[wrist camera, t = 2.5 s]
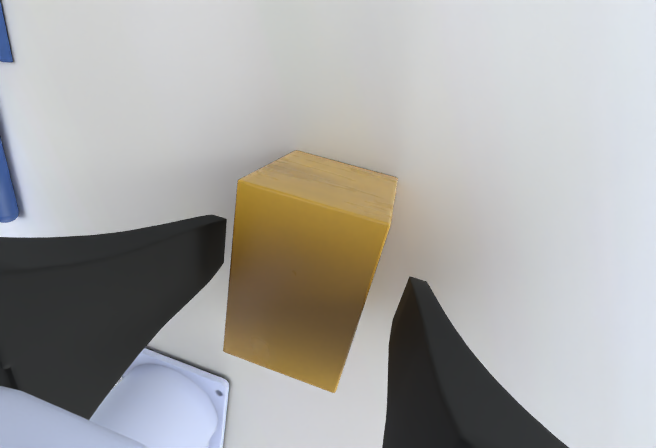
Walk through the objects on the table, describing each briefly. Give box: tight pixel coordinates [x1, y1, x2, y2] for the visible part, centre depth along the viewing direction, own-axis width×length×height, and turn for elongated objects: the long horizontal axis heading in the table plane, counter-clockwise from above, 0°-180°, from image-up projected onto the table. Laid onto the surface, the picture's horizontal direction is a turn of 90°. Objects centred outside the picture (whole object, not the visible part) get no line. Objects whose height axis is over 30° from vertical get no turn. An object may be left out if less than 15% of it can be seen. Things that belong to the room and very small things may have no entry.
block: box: [223, 150, 398, 393], centre depth 12 cm, size 7×4×5 cm, turn 168°
